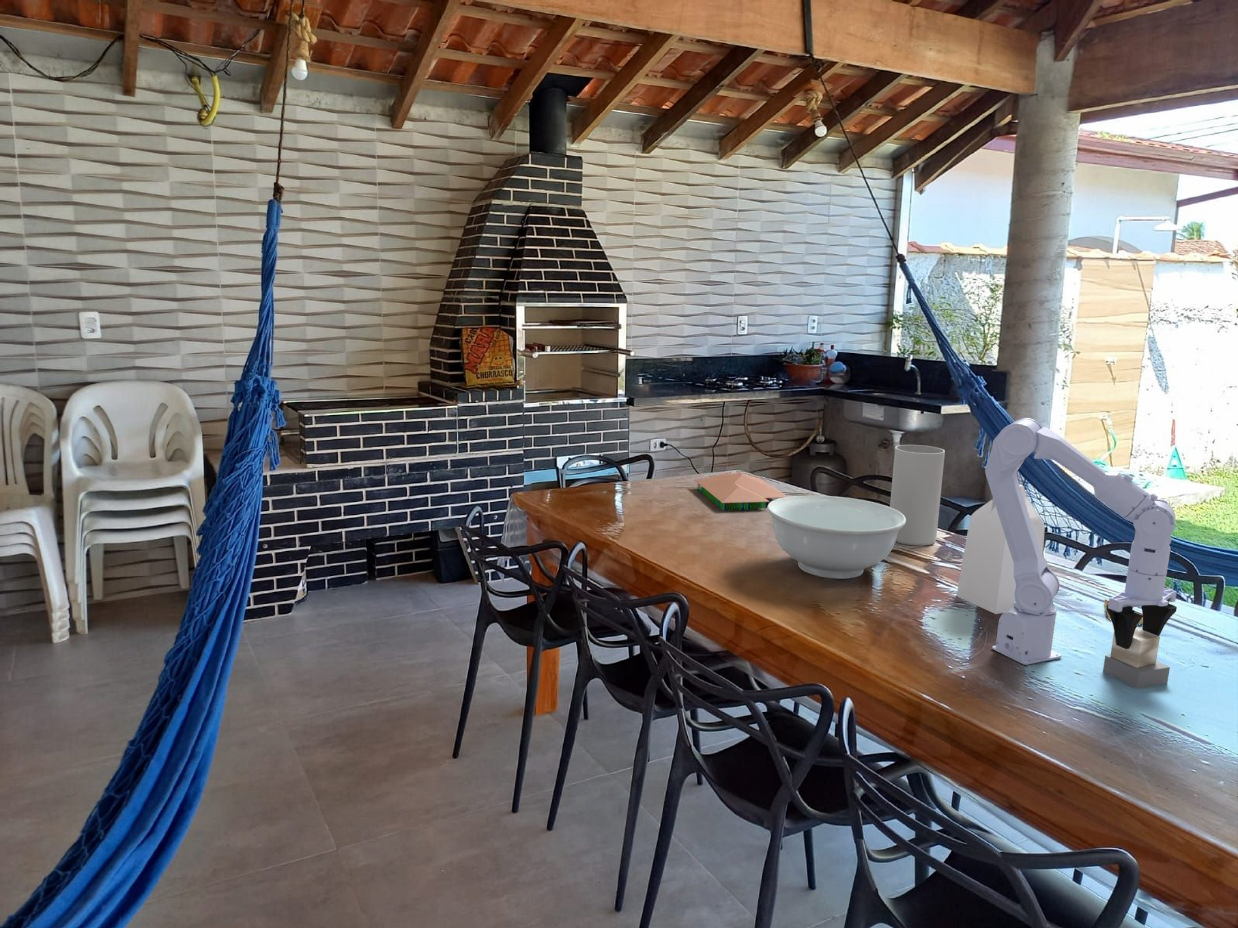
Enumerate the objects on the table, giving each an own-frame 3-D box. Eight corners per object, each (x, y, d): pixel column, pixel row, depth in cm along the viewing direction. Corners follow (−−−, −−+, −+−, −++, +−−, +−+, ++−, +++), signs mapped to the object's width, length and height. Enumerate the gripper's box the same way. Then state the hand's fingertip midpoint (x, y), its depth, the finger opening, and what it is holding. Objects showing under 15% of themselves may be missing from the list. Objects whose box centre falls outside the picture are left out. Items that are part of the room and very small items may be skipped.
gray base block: (1136, 690, 150) (1139, 671, 149) (1102, 673, 156) (1105, 655, 155) (1166, 685, 152) (1169, 667, 151) (1132, 668, 158) (1135, 650, 158)
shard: (1103, 605, 191) (1104, 597, 190) (1144, 612, 187) (1145, 604, 187) (1106, 621, 181) (1107, 613, 181) (1148, 628, 178) (1149, 620, 177)
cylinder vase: (888, 544, 231) (896, 451, 226) (886, 531, 243) (893, 443, 238) (938, 548, 228) (947, 455, 223) (933, 535, 240) (942, 446, 235)
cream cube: (1136, 667, 150) (1141, 640, 149) (1110, 656, 155) (1114, 630, 154) (1155, 663, 152) (1160, 636, 151) (1129, 652, 157) (1133, 626, 156)
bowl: (917, 564, 214) (922, 507, 211) (876, 602, 188) (882, 537, 185) (794, 541, 232) (797, 488, 229) (741, 573, 205) (744, 513, 202)
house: (757, 486, 296) (758, 462, 294) (794, 511, 264) (795, 485, 263) (692, 487, 292) (693, 464, 290) (721, 513, 260) (723, 486, 258)
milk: (998, 589, 197) (1011, 478, 192) (1038, 607, 187) (1053, 490, 182) (956, 595, 193) (968, 481, 188) (995, 614, 183) (1009, 494, 177)
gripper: (1140, 582, 144) (1128, 659, 146) (1197, 572, 149) (1185, 646, 152) (1101, 569, 150) (1091, 643, 153) (1158, 560, 156) (1147, 631, 158)
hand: (1135, 643), depth 153 cm, fingers open, 6 cm apart
